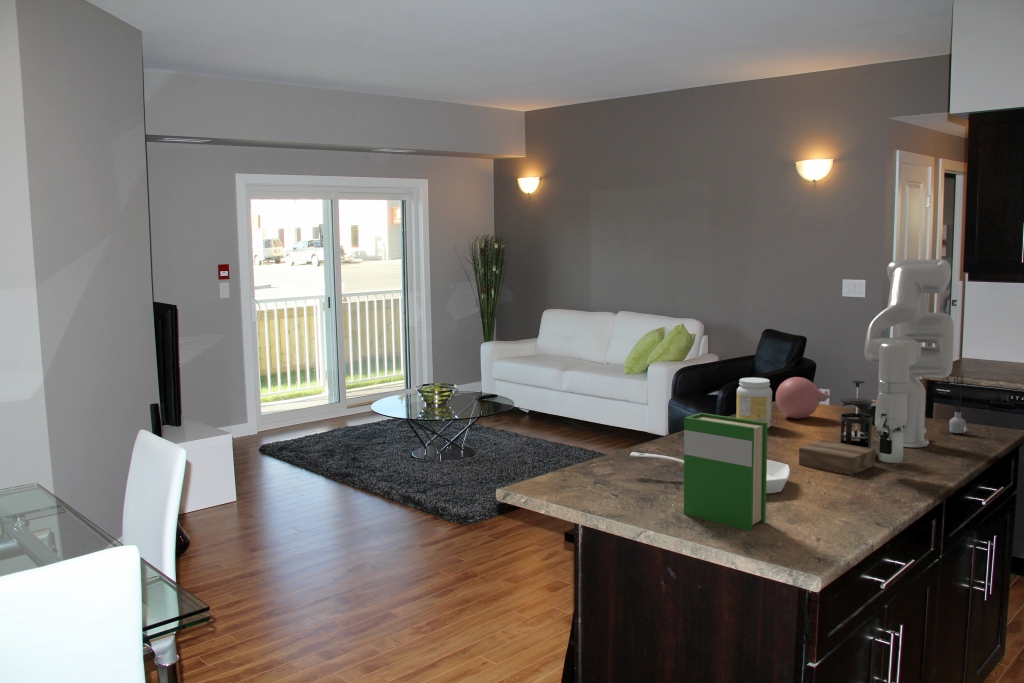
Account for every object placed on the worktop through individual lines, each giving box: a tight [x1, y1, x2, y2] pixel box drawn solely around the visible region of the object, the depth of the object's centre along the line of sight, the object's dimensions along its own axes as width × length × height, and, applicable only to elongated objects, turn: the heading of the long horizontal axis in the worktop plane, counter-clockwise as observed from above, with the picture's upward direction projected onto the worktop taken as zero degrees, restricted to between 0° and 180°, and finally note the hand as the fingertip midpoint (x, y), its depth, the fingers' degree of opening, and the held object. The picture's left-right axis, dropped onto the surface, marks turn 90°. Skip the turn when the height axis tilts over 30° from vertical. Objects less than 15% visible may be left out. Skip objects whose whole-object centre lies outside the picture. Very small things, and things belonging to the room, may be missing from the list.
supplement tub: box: [735, 377, 773, 429], centre depth 287 cm, size 12×12×17 cm
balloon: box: [775, 376, 832, 420], centre depth 297 cm, size 15×20×15 cm
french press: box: [839, 379, 873, 449], centre depth 247 cm, size 12×9×23 cm
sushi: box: [858, 399, 877, 424], centre depth 290 cm, size 8×8×8 cm
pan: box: [629, 451, 791, 495], centre depth 224 cm, size 28×43×7 cm, turn 70°
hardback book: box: [683, 412, 768, 532], centre depth 192 cm, size 18×7×24 cm, turn 46°
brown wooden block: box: [798, 439, 876, 476], centre depth 236 cm, size 14×16×5 cm
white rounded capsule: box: [878, 429, 904, 464], centre depth 223 cm, size 6×6×8 cm
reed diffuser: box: [945, 374, 968, 434], centre depth 271 cm, size 10×7×20 cm
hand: (890, 450), depth 223 cm, fingers closed on white rounded capsule, 6 cm apart
